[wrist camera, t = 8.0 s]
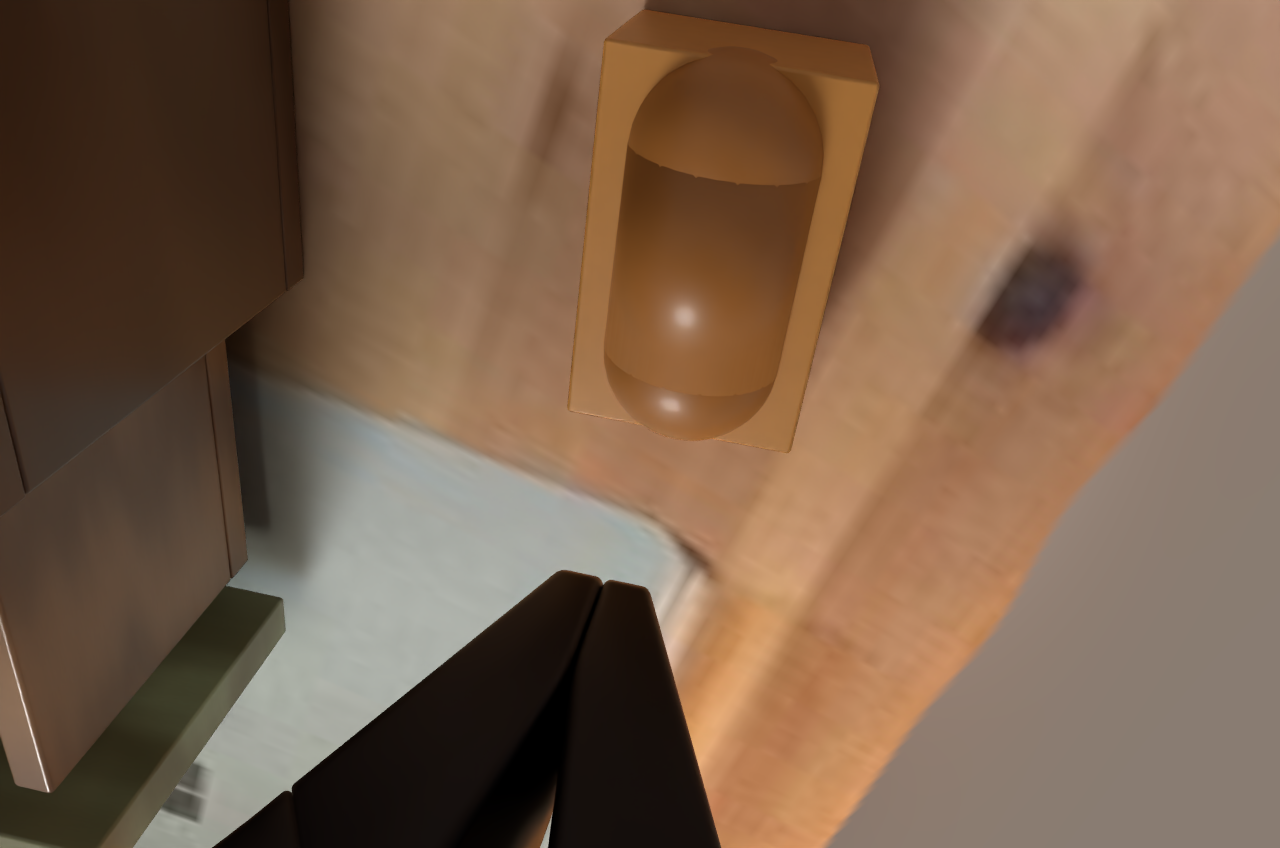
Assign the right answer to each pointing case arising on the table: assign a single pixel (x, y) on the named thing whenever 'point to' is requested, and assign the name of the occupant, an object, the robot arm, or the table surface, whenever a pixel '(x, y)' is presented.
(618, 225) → the orange hollowed block
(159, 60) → the cabinet
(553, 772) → the robot arm
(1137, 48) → the table surface
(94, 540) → the drawer
